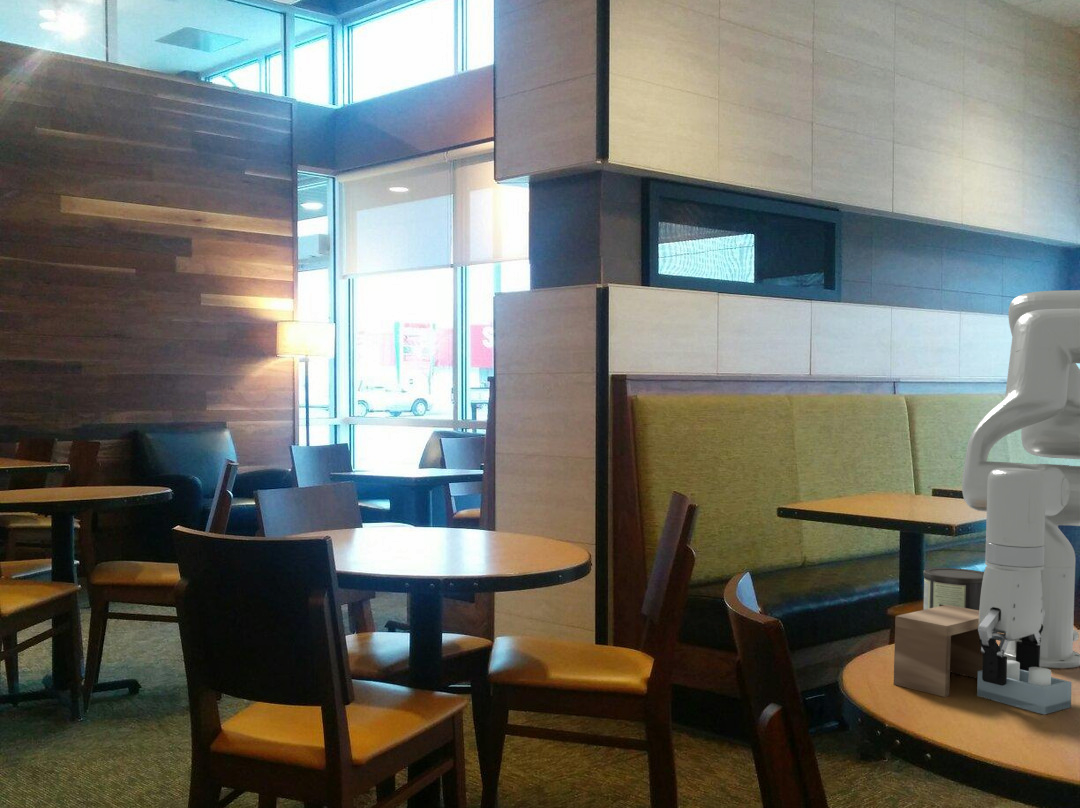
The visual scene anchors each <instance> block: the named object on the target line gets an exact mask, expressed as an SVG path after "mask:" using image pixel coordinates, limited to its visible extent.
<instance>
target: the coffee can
mask: <svg viewBox="0 0 1080 808" xmlns="http://www.w3.org/2000/svg"><path fill="white" fill-rule="evenodd" d="M983 576H984V571H979V570H974V569H966V568H957V567H956V568H955V567H932V568H926V569H924V570H923V578H924V579H923V610H925V609H930V608H934V607H939V606H943V605H951V606H956V607H962V608H968V609H973V610H979V607H980V597H981V588H982V581H983Z"/></svg>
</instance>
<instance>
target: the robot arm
mask: <svg viewBox="0 0 1080 808" xmlns="http://www.w3.org/2000/svg"><path fill="white" fill-rule="evenodd" d="M1007 316H1008V323H1009V325H1008V326H1009V328H1010V333H1011V336H1012V338H1011V345H1010V346H1011V347H1010V354H1009V363H1008V370H1007V378H1006V386H1005V387H1006V388H1005V394H1004V395H1005V396H1004V398H1003V399H1002V401H1000V402H999V403H998V404H997V405H996V406H994V407H993V408H991V410H989V411H988V412H987V413H986V414H985V415H984V416H983V417H982V418H981V419H980V421H978V423H977V425H976V426H975V428H974V429H973V431H972V432H971V435H970V437H969V439H968V443H967V445H966V453H965V458H964V459H965V460H964V465H963V472H962V480H961V481H962V483H961V486H962V487H961V490H962V496H963V500H964V501H965V504H966V505H967V506H968V507H969V508H970V509H972V510H975V511H978V512H985V513H986V518H985V519H986V520H985V521H986V525H985V553H984V554H985V556H984V557H985V558H984V559H985V560H984V564H985V565H986V566H985V567H984V568H985V569H984V571H983V572H984V576H983V581H982V588H981V597H980V607H979V623H978V632H979V636H980V640H979V641H980V644H981V646H982V647H981V652H982V653H983V667H982V679H983V681H985V682H989V683H993V684H997V685H1001V686H1003V685H1006V681H1007V660H1013V661H1017V662H1019V663H1020V669H1021V670H1025V671H1029V668H1030V667H1042V668H1046V669H1071V668H1077V667H1078V668H1079V667H1080V653H1079V652H1078V651H1077V652H1076V651H1074V650H1073V646H1074V645H1073V644H1074V642H1076V641H1078V640H1079V638H1080V634H1079V632H1078V631H1076V630H1075V629H1074V618H1075V617H1074V614H1075V612H1074V611H1075V587H1076V586H1075V584H1076V583H1075V580H1076V553H1075V549H1074V547H1073V545H1072V544H1071V542H1070V541H1069V539H1068V538H1067V536H1066V535H1064V532H1062V530H1061V529H1060V528H1059V526H1073V527H1074V526H1075V527H1080V466H1079V465H1070V464H1069V465H1068V464H1052V463H1050V464H1049V463H1022V462H1008V461H1007V462H1006V461H1005V462H1004V461H987V460H988V456H989V454H990V452H991V450H992V448H993V447H994V445H996V444H997V442H999V441H1000V440H1002V439H1003V438H1005V437H1006V436H1008V435H1009V434H1012V433H1014V432H1016V431H1019V430H1020V431H1021V432H1020V435H1021V436H1020V437H1021V444H1022V446H1023V449H1024V451H1026V452H1027V453H1028V454H1030V455H1033V456H1035V457H1040V458H1041V457H1042V458H1049V459H1066V460H1067V459H1069V460H1080V367H1079V366H1078V365H1077V364H1080V289H1077V290H1075V289H1074V290H1073V289H1071V290H1069V289H1068V290H1066V289H1065V290H1041V291H1039V290H1038V291H1031V292H1027V293H1023V294H1020V295H1018V296H1015V298H1013V299H1012V300H1011V301H1010V304H1009V306H1008V315H1007ZM997 641H999V644H998V642H997Z"/></svg>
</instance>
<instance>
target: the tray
mask: <svg viewBox="0 0 1080 808" xmlns="http://www.w3.org/2000/svg"><path fill="white" fill-rule="evenodd" d="M976 680H977V682H976V683H977V687H976V696H977V697H979V696H980V698H983V697H984V698H983V699H987V698H988V699H987V700H990V699H991V701H994V702H998V703H1000V704H1001V703H1002V704H1005V705H1009V706H1012V707H1016V708H1019V709H1023V710H1025V711H1030V712H1034V713H1037V714H1041V715H1047V714H1052V713H1055V712H1058V711H1063V710H1066V709H1069V708H1072V688H1073V686H1072V681H1068V680H1066V679H1060V678H1056V677H1053V676H1052V669H1050V668H1046V667H1030V668H1029V671H1025V670H1021V669H1020V663H1019V662H1017V661H1013V660H1007V681H1006V685H1003V686H1001V685H997V684H993V683H989V682H985V681H983V679H982V670H981V671H978V678H977V679H976ZM1062 709H1063V710H1062Z"/></svg>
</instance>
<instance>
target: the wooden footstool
mask: <svg viewBox="0 0 1080 808" xmlns="http://www.w3.org/2000/svg"><path fill="white" fill-rule="evenodd" d="M894 622H895V623H894V625H895V626H894V655H893V656H894V657H893V659H894V661H893V685H895V686H899V687H903V688H908V689H911V690H915V691H919V692H923V693H928V694H931V695H934V696H939V697H942V698H946V697H948V696H950V678H951V677H950V675H951V672H952V674H955V673H956V675H959V674H960V675H959V676H964V677H968V676H970V677H969V678H972V677H974V678H973V679H976V678H978V671H981V670H982V667H983V653H982V652H981V647H982V646H981V644H980V641H979V640H980V636H979V632H978V623H979V610H973V609H968V608H962V607H956V606H951V605H943V606H939V607H934V608H930V609H925V610H924V609H921V610H917V611H912V612H908V613H903V614H898V615H895V620H894Z"/></svg>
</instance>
